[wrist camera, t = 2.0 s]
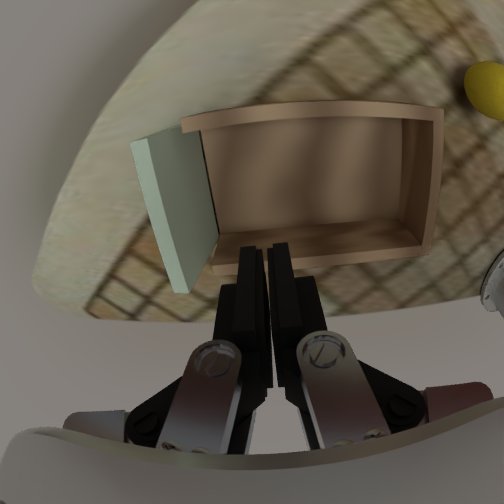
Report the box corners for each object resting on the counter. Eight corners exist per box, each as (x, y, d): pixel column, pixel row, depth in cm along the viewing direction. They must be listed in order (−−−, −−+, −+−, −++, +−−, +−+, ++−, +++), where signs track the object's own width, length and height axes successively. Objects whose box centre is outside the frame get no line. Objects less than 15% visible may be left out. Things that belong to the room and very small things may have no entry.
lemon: (463, 121, 19) (518, 139, 12) (440, 72, 17) (496, 74, 10) (491, 101, 17) (544, 115, 10) (470, 54, 15) (524, 56, 8)
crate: (406, 103, 19) (443, 109, 14) (402, 223, 25) (429, 254, 20) (199, 113, 21) (179, 118, 16) (223, 239, 27) (214, 276, 22)
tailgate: (196, 121, 20) (147, 138, 14) (219, 237, 26) (189, 293, 19) (180, 124, 21) (126, 143, 14) (204, 238, 26) (171, 292, 20)
